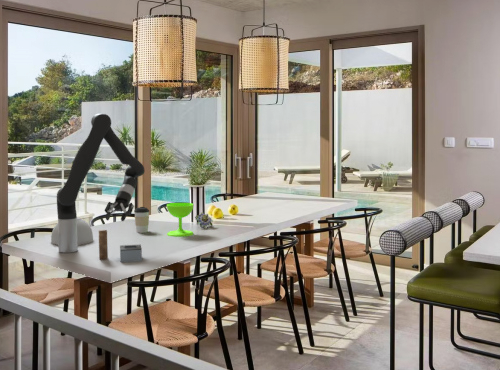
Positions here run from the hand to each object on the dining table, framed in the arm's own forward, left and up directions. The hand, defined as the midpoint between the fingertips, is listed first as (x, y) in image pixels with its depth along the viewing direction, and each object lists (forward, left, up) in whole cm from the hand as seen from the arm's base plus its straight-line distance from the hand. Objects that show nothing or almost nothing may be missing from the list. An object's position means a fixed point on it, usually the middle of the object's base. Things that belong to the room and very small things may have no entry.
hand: (114, 219), depth 287 cm
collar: (+7, -14, -17) cm, 23 cm away
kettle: (-23, +39, -18) cm, 49 cm away
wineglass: (+38, +44, -18) cm, 61 cm away
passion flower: (+55, +63, -18) cm, 86 cm away
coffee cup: (+16, +57, -18) cm, 62 cm away
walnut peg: (-6, -10, -17) cm, 21 cm away
